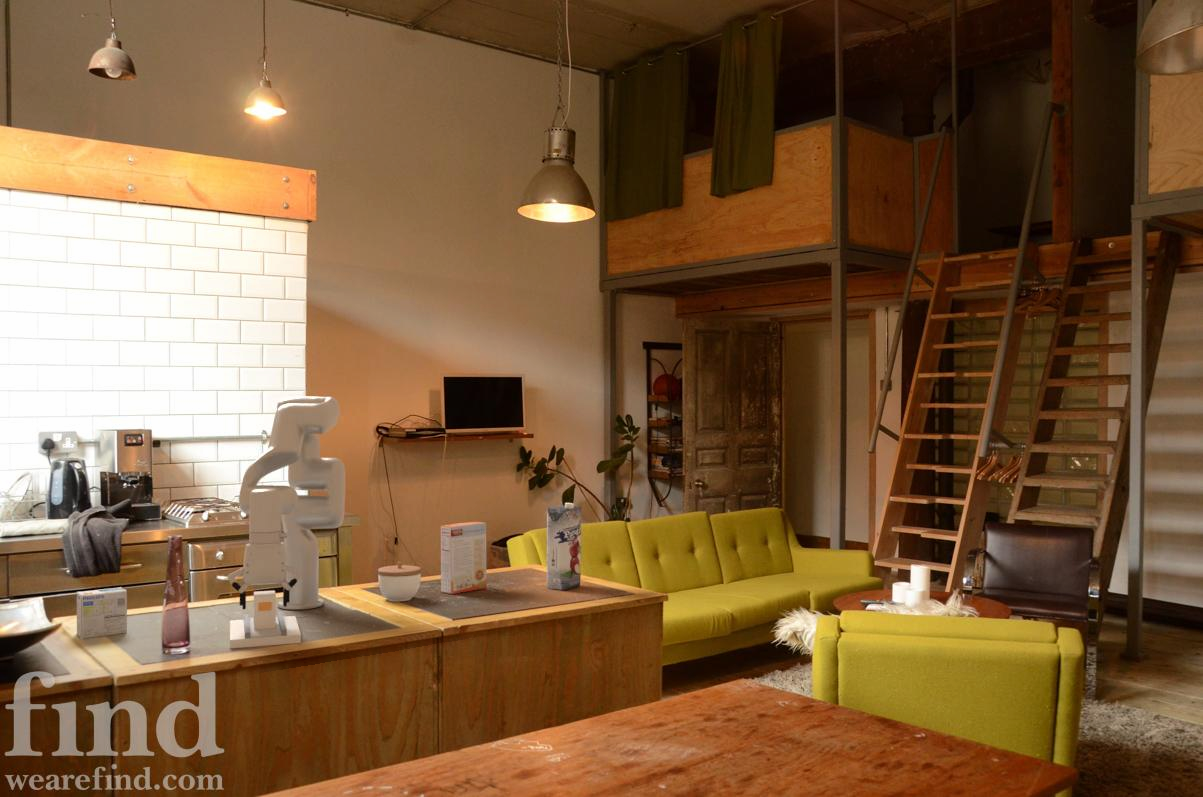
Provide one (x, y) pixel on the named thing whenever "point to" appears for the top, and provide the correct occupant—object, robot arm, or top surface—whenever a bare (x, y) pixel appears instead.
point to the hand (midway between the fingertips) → (264, 606)
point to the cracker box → (463, 557)
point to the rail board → (264, 632)
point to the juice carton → (563, 547)
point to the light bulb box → (101, 612)
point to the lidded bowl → (399, 581)
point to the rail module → (264, 609)
